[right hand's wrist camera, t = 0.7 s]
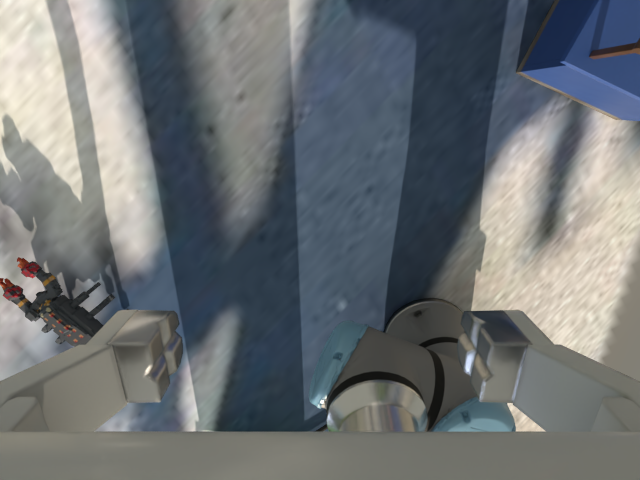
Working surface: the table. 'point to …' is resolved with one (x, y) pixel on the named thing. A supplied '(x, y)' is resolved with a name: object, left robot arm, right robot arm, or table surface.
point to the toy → (56, 307)
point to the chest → (563, 79)
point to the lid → (609, 45)
